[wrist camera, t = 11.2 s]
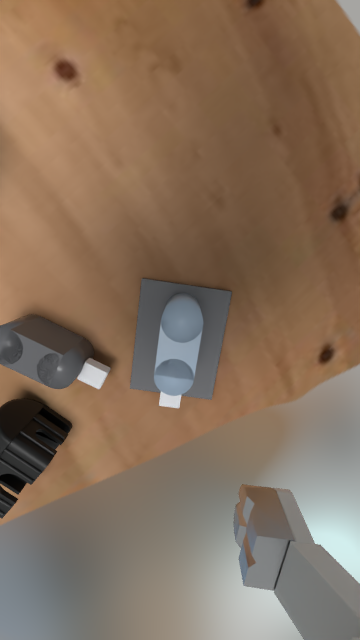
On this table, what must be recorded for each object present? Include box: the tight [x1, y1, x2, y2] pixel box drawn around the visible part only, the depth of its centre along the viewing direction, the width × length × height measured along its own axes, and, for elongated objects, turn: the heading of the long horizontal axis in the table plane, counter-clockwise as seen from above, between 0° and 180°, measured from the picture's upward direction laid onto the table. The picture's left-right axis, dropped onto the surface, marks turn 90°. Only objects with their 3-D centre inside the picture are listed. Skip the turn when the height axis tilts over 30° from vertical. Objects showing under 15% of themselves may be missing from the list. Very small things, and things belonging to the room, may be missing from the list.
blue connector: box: [154, 293, 203, 408], centre depth 25 cm, size 11×4×5 cm, turn 172°
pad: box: [130, 278, 232, 400], centre depth 28 cm, size 12×9×1 cm
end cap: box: [0, 399, 72, 518], centre depth 28 cm, size 10×7×7 cm
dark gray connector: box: [0, 314, 111, 389], centre depth 26 cm, size 11×4×5 cm, turn 62°
